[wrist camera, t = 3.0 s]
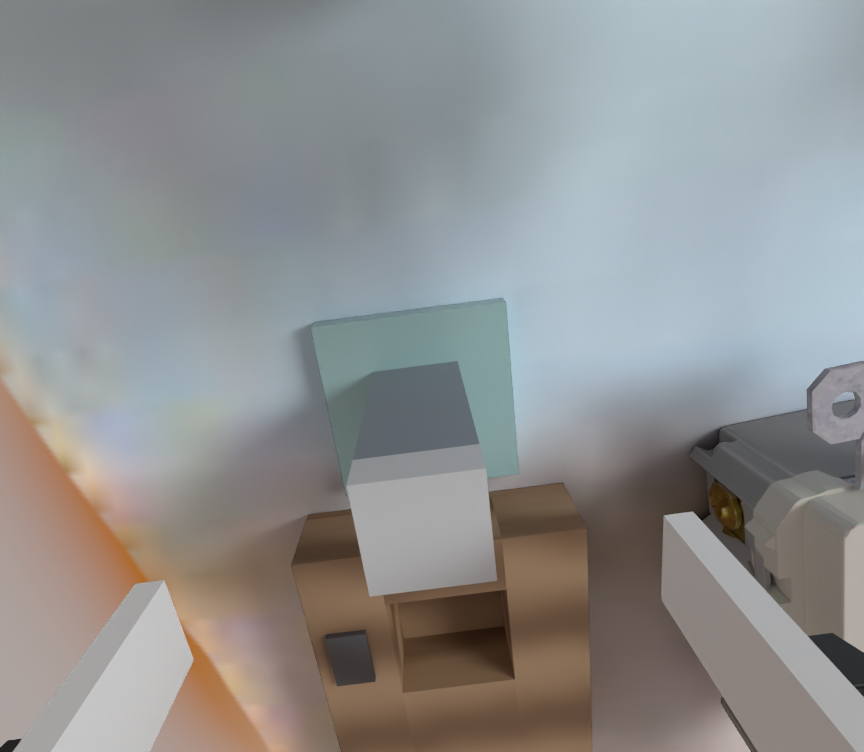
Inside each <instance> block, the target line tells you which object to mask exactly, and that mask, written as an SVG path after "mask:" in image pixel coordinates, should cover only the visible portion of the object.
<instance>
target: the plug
mask: <svg viewBox="0 0 864 752" xmlns="http://www.w3.org/2000/svg"><path fill="white" fill-rule="evenodd" d="M346 487H347V492H348V496H349V501H350V506H351V511H352V515H353V520H354V525H355V530H356V534H357V539H358V544H359V549H360V553H361V558H362V563H363V568H364V573H365V577H366V582H367V587H368V592H369V596H370V597H371V596H379V595H387V594H395V593H403V592H412V591H420V590H428V589H436V588H444V587H452V586H460V585H468V584H476V583H484V582H492V581H497V573H496V563H495V553H494V543H493V533H492V523H491V513H490V503H489V493H488V483H487V473H486V466H485V463H484V459H483V455H482V451H481V448H480V444H479V440H478V436H477V433H476V429H475V425H474V421H473V418H472V414H471V410H470V406H469V403H468V399H467V395H466V391H465V387H464V384H463V380H462V376H461V372H460V369H459V365H458V361H454V362H446V363H438V364H430V365H423V366H415V367H407V368H399V369H391V370H384V371H376V372H373V376H372V380H371V384H370V389H369V393H368V397H367V401H366V405H365V410H364V414H363V418H362V422H361V426H360V431H359V435H358V439H357V443H356V447H355V452H354V456H353V460H352V464H351V468H350V473H349V477H348V481H347V485H346Z"/></svg>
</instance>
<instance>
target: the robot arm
mask: <svg viewBox="0 0 864 752" xmlns="http://www.w3.org/2000/svg"><path fill="white" fill-rule="evenodd" d="M661 600H662V602H663V603H664V605H665V606H666V608H667V610H668V611H669V613H670V614H671V616H672V617H673V619H674V621H675V622H676V624H677V625H678V627H679V628H680V630H681V632H682V633H683V635H684V636H685V638H686V640H687V641H688V643H689V644H690V646H691V647H692V649H693V651H694V652H695V654H696V655H697V657H698V658H699V660H700V662H701V663H702V665H703V666H704V668H705V669H706V671H707V673H708V674H709V676H710V677H711V679H712V681H713V682H714V684H715V685H716V687H717V688H718V690H719V692H720V693H721V695H722V696H723V698H724V699H725V701H726V703H727V704H728V706H729V707H730V709H731V710H732V712H733V714H734V715H735V717H736V718H737V720H738V721H739V723H740V725H741V726H742V728H743V729H744V731H745V733H746V734H747V736H748V737H749V739H750V740H751V742H752V744H753V745H754V747H755V748H756V750H757V751H758V752H864V652H862V651H860V650H859V649H857V648H856V647H854V646H852V645H851V644H849V643H848V642H846V641H845V640H843V639H841V638H840V637H838V636H837V635H835V634H834V633H827V634H819V635H811V636H807V635H806V634H805V633H804V632H803V631H802V629H801V628H800V627H799V626H798V625H797V624H796V623H795V622H794V621H793V620H792V619H791V618H790V616H789V615H788V614H787V613H786V612H785V611H784V610H783V609H782V608H781V607H780V606H779V605H778V603H777V602H776V601H775V600H774V599H773V598H772V597H771V596H770V595H769V594H768V593H767V591H766V590H765V589H764V588H763V587H762V586H761V585H760V584H759V583H758V582H757V581H756V580H755V578H754V577H753V576H752V575H751V574H750V573H749V572H748V571H747V570H746V569H745V568H744V566H743V565H742V564H741V563H740V562H739V561H738V560H737V559H736V558H735V557H734V556H733V555H732V553H731V552H730V551H729V550H728V549H727V548H726V547H725V546H724V545H723V544H722V543H721V542H720V540H719V539H718V538H717V537H716V536H715V535H714V534H713V533H712V532H711V531H710V530H709V528H708V527H707V526H706V525H705V524H704V523H703V522H702V521H701V520H700V519H699V518H698V517H697V515H696V514H695V513H694V512H685V513H678V514H670V515H664V519H663V552H662V584H661ZM193 660H194V659H193V656H192V654H191V651H190V648H189V646H188V643H187V640H186V638H185V635H184V632H183V629H182V627H181V624H180V621H179V619H178V616H177V613H176V610H175V608H174V605H173V602H172V600H171V597H170V594H169V592H168V589H167V586H166V583H165V581H164V580H161V581H154V582H146V583H139V584H135V585H134V586H133V588H132V589H131V591H130V592H129V593H128V595H127V596H126V598H125V599H124V600H123V601H122V603H121V604H120V606H119V607H118V608H117V610H116V611H115V612H114V614H113V615H112V617H111V618H110V619H109V621H108V622H107V623H106V625H105V626H104V627H103V629H102V630H101V632H100V633H99V634H98V636H97V637H96V638H95V640H94V641H93V643H92V644H91V645H90V647H89V648H88V649H87V651H86V652H85V653H84V655H83V656H82V658H81V659H80V661H79V662H78V663H77V664H76V666H75V667H74V668H73V670H72V671H71V673H70V674H69V675H68V677H67V678H66V680H65V681H64V682H63V684H62V685H61V686H60V688H59V689H58V690H57V692H56V693H55V694H54V696H53V697H52V699H51V700H50V701H49V703H48V704H47V705H46V707H45V708H44V710H43V711H42V712H41V714H40V715H39V716H38V718H37V719H36V720H35V722H34V723H33V725H32V726H31V727H30V729H29V730H28V731H27V733H26V734H25V736H24V737H23V738H22V739H16V740H9V741H7V742H6V743H5V744H4V745H3V746H2V747H0V752H150V750H151V748H152V746H153V743H154V742H155V739H156V737H157V735H158V733H159V731H160V729H161V727H162V725H163V723H164V721H165V718H166V716H167V714H168V712H169V710H170V708H171V706H172V704H173V702H174V700H175V698H176V696H177V694H178V691H179V689H180V687H181V685H182V683H183V681H184V679H185V677H186V675H187V673H188V671H189V669H190V666H191V664H192V662H193Z"/></svg>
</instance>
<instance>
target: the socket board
mask: <svg viewBox="0 0 864 752" xmlns="http://www.w3.org/2000/svg"><path fill="white" fill-rule="evenodd" d="M488 493H489V503H490V513H491V523H492V533H493V543H494V553H495V563H496V573H497V581H492V582H484V583H476V584H468V585H460V586H452V587H444V588H436V589H428V590H420V591H412V592H403V593H395V594H387V595H379V596H371V597H370V596H369V592H368V587H367V582H366V577H365V573H364V568H363V563H362V558H361V553H360V549H359V544H358V539H357V534H356V530H355V525H354V520H353V515H352V511H351V509H350V510H342V511H334V512H326V513H319V514H311V515H308V516H307V519H306V522H305V525H304V528H303V531H302V534H301V537H300V540H299V543H298V546H297V549H296V552H295V555H294V558H293V561H292V564H291V567H292V571H293V575H294V578H295V582H296V586H297V589H298V593H299V597H300V601H301V604H302V608H303V612H304V615H305V619H306V623H307V627H308V630H309V634H310V638H311V641H312V645H313V649H314V652H315V656H316V660H317V664H318V667H319V671H320V675H321V678H322V682H323V686H324V690H325V693H326V697H327V701H328V704H329V708H330V712H331V716H332V719H333V723H334V727H335V730H336V734H337V738H338V742H339V745H340V749H341V752H592V719H591V678H590V636H589V595H588V553H587V528H586V526H585V524H584V522H583V520H582V518H581V516H580V514H579V512H578V510H577V509H576V507H575V505H574V503H573V501H572V499H571V497H570V495H569V493H568V491H567V489H566V488H565V486H564V484H563V483H557V484H549V485H541V486H533V487H525V488H517V489H509V490H501V491H493V492H488Z"/></svg>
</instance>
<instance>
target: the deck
mask: <svg viewBox="0 0 864 752" xmlns="http://www.w3.org/2000/svg"><path fill="white" fill-rule="evenodd" d="M310 328H311V333H312V338H313V342H314V347H315V352H316V356H317V361H318V366H319V371H320V375H321V380H322V385H323V389H324V394H325V399H326V404H327V408H328V413H329V418H330V422H331V427H332V432H333V437H334V441H335V446H336V451H337V456H338V460H339V465H340V470H341V474H342V479H343V484H344V489H345V493H346V496H348V492H347V487H346V485H347V481H348V477H349V473H350V468H351V464H352V460H353V456H354V452H355V447H356V443H357V439H358V435H359V431H360V426H361V422H362V418H363V414H364V410H365V405H366V401H367V397H368V393H369V389H370V384H371V380H372V376H373V372H376V371H384V370H391V369H399V368H407V367H415V366H423V365H430V364H438V363H446V362H454V361H458V365H459V369H460V372H461V376H462V380H463V384H464V387H465V391H466V395H467V399H468V403H469V406H470V410H471V414H472V418H473V421H474V425H475V429H476V433H477V436H478V440H479V444H480V448H481V451H482V455H483V459H484V463H485V466H486V473H487V478H491V477H499V476H507V475H515V474H519V466H518V453H517V440H516V426H515V413H514V400H513V387H512V373H511V360H510V347H509V333H508V320H507V307H506V301H505V300H504V299H503V298H499V299H491V300H483V301H475V302H468V303H460V304H452V305H445V306H437V307H429V308H422V309H414V310H406V311H398V312H391V313H383V314H375V315H368V316H360V317H352V318H345V319H337V320H329V321H322V322H314V324H313V325H312V326H311V327H310Z"/></svg>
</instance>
